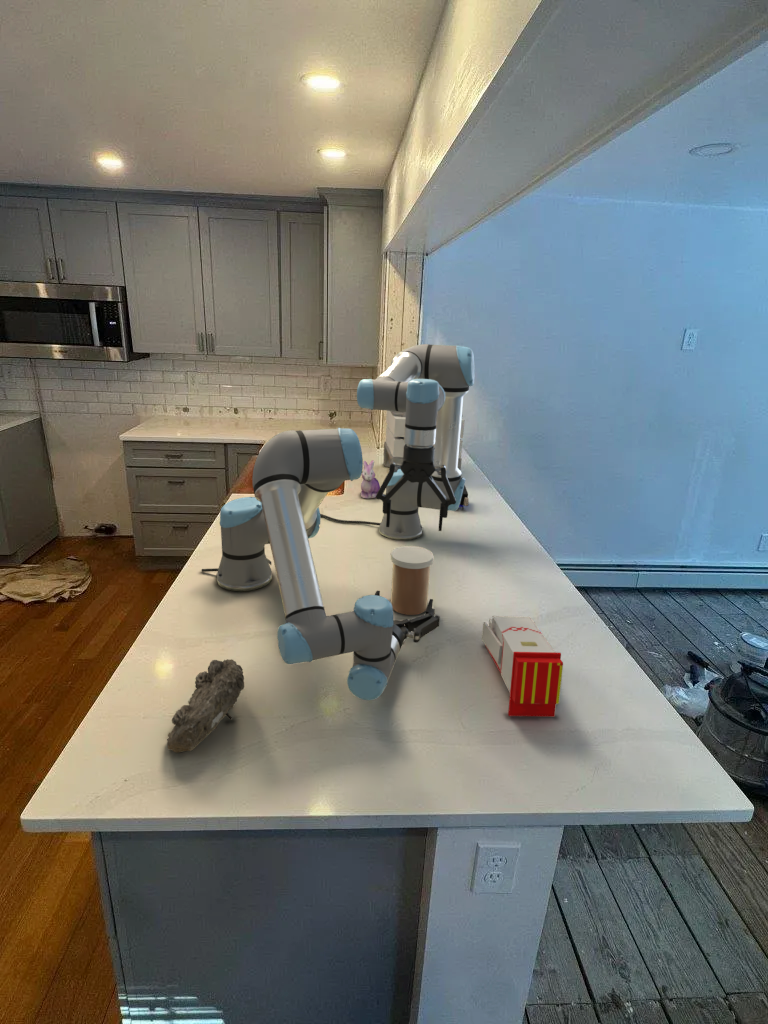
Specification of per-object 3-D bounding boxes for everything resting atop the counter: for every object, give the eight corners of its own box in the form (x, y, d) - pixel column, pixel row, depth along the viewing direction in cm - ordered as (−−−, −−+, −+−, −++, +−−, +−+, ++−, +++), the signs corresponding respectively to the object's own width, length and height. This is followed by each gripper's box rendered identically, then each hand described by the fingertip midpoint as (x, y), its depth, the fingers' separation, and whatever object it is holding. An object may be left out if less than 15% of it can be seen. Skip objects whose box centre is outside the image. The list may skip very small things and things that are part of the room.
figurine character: (468, 514, 225) (463, 498, 239) (470, 497, 222) (465, 482, 235) (451, 514, 225) (447, 498, 238) (453, 497, 222) (449, 481, 235)
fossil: (192, 660, 117) (244, 628, 112) (224, 691, 120) (276, 661, 115) (142, 746, 98) (202, 712, 93) (182, 779, 101) (242, 748, 96)
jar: (383, 601, 154) (386, 551, 149) (414, 593, 158) (417, 545, 153) (402, 618, 146) (405, 566, 141) (434, 609, 150) (438, 559, 145)
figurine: (365, 500, 232) (366, 464, 227) (354, 493, 241) (355, 458, 236) (385, 497, 237) (387, 463, 231) (374, 490, 245) (375, 457, 240)
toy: (528, 601, 136) (572, 659, 107) (523, 653, 139) (565, 722, 110) (478, 600, 136) (508, 657, 107) (474, 652, 139) (503, 722, 109)
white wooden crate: (382, 463, 289) (386, 382, 275) (445, 464, 293) (451, 384, 279) (390, 482, 257) (394, 392, 243) (460, 483, 261) (468, 394, 247)
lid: (382, 555, 149) (383, 549, 149) (418, 548, 155) (418, 543, 154) (404, 572, 140) (405, 566, 140) (441, 564, 146) (441, 558, 145)
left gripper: (328, 649, 127) (356, 605, 146) (439, 670, 121) (452, 620, 141) (329, 620, 124) (357, 578, 144) (442, 639, 119) (455, 593, 138)
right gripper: (469, 444, 140) (462, 525, 147) (370, 438, 141) (367, 518, 149) (471, 451, 133) (463, 536, 140) (366, 445, 134) (364, 528, 142)
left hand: (404, 599), depth 142 cm, fingers open, 13 cm apart
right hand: (414, 527), depth 144 cm, fingers open, 12 cm apart
